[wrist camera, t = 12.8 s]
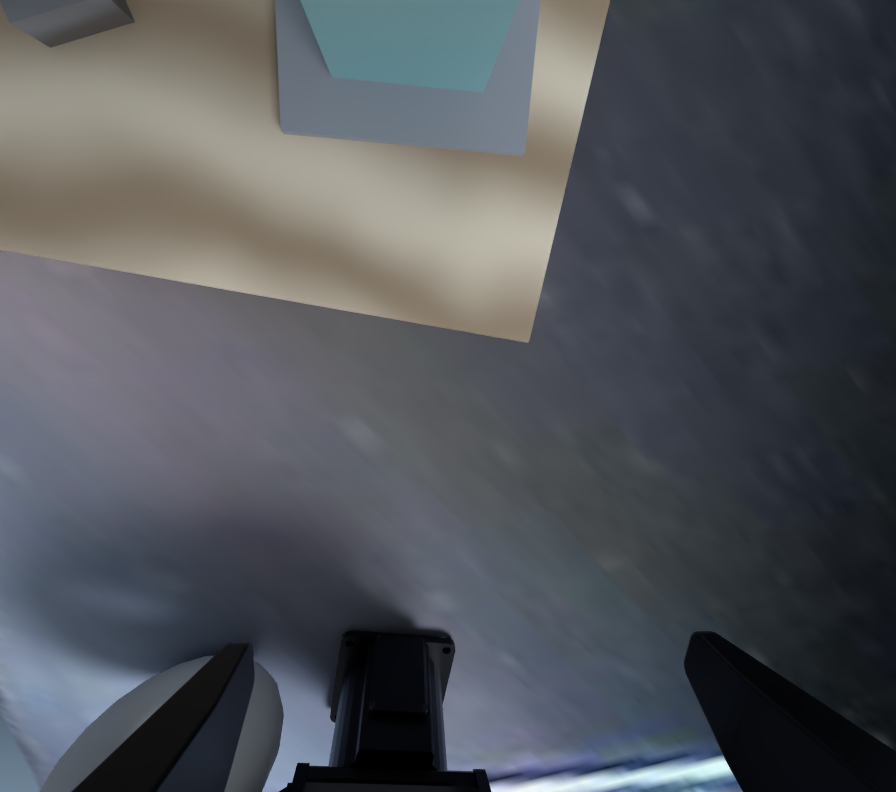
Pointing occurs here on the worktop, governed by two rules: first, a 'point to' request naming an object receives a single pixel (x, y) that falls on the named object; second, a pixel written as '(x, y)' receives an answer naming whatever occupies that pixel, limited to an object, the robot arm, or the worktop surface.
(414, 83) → the tall teal block
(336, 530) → the worktop surface
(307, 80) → the coaster
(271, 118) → the board
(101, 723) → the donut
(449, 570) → the worktop surface
